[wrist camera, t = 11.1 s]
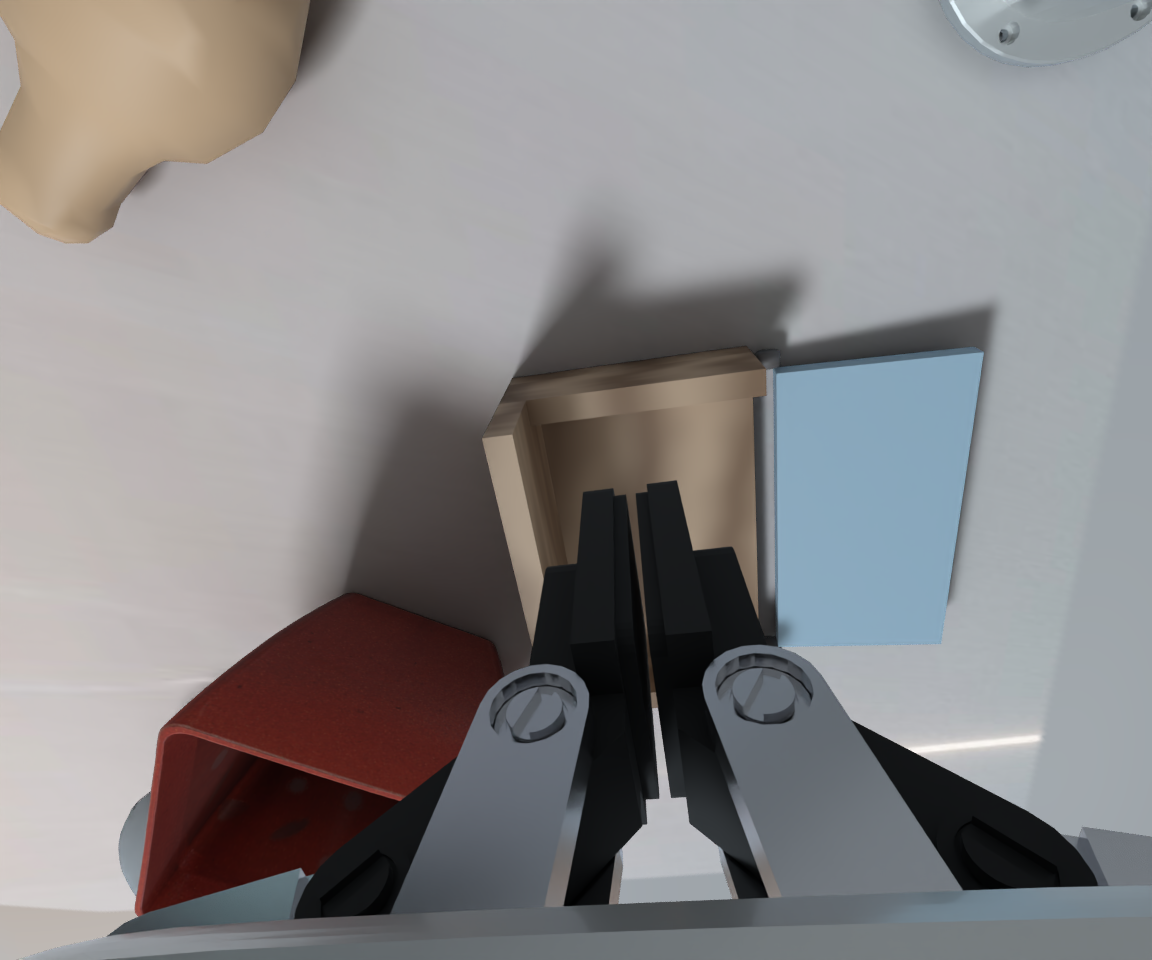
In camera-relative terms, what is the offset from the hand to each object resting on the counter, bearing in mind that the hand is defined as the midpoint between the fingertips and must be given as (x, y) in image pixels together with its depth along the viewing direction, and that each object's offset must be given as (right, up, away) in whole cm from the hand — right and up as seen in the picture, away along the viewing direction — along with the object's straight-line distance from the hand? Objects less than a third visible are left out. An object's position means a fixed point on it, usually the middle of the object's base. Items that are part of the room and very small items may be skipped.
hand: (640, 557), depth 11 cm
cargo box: (+4, -2, +31) cm, 31 cm away
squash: (-21, +22, +21) cm, 37 cm away
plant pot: (-15, -14, +38) cm, 44 cm away
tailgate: (+12, -1, +30) cm, 32 cm away
